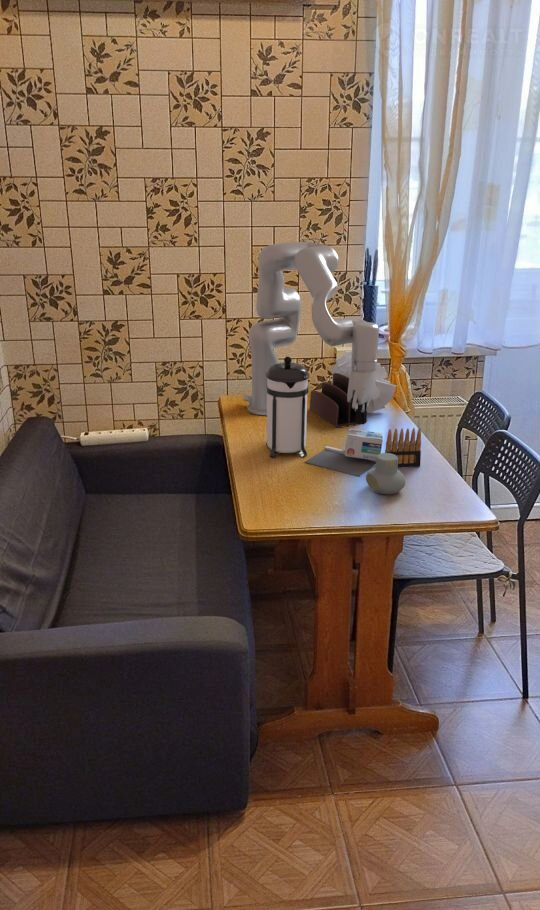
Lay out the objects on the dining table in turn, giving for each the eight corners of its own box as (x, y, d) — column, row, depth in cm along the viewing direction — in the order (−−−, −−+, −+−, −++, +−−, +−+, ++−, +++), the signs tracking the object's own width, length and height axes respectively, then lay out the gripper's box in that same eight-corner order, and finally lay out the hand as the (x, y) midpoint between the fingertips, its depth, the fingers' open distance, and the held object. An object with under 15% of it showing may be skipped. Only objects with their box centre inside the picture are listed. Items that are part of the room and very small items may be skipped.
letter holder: (333, 407, 276) (335, 369, 271) (362, 424, 259) (364, 384, 254) (309, 410, 272) (310, 372, 267) (336, 428, 256) (338, 388, 250)
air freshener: (362, 484, 214) (364, 451, 211) (388, 480, 217) (390, 447, 213) (381, 500, 205) (383, 466, 201) (408, 496, 208) (411, 462, 204)
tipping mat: (304, 462, 228) (304, 459, 228) (326, 448, 238) (326, 445, 238) (358, 476, 219) (359, 473, 219) (379, 461, 229) (379, 458, 229)
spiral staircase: (359, 426, 269) (338, 400, 291) (404, 403, 269) (379, 379, 291) (340, 383, 260) (320, 360, 282) (387, 359, 260) (362, 338, 282)
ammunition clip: (418, 464, 228) (421, 426, 223) (420, 466, 226) (423, 428, 222) (383, 465, 227) (386, 427, 222) (384, 468, 225) (387, 429, 221)
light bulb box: (382, 433, 234) (383, 439, 224) (379, 454, 236) (380, 461, 225) (348, 428, 235) (347, 434, 225) (344, 449, 237) (344, 456, 226)
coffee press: (322, 450, 238) (326, 355, 226) (288, 464, 227) (289, 366, 215) (281, 435, 249) (282, 345, 237) (246, 449, 238) (246, 355, 226)
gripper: (363, 357, 235) (360, 413, 242) (340, 368, 223) (338, 427, 230) (386, 361, 231) (382, 418, 238) (364, 372, 219) (360, 432, 226)
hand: (360, 422), depth 234 cm, fingers closed
